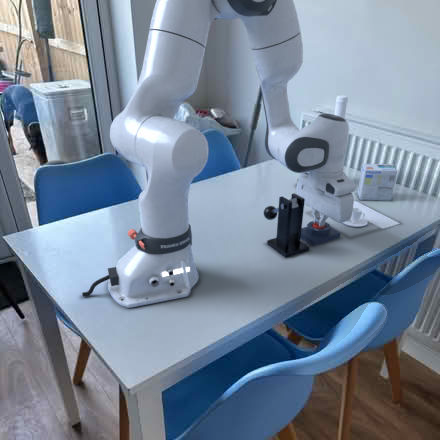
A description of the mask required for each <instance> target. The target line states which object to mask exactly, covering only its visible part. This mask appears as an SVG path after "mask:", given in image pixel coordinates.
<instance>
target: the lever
mask: <svg viewBox="0 0 440 440" xmlns="http://www.w3.org/2000/svg"><path fill="white" fill-rule="evenodd" d="M289 200H290V201H291V202H292V209H294V208H297V207H299V205H298V202H297V198H294V199H289ZM278 210H279V206H278V207H275V206H273V205H268V206H266V207H265V208H264V209H263V216H264V217H263V218H265V219H266V220H267V221H273V220H275V219H276V218H277V217H278Z"/></svg>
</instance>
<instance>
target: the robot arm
mask: <svg viewBox="0 0 440 440" xmlns="http://www.w3.org/2000/svg"><path fill="white" fill-rule="evenodd" d="M236 19H240V21H241V22H242V23H243V25H244V26H245V29H246V31H247V37H248V41H249V47H250V52H251V56H252V59H253V63H254V66H255V71H256V74H257V78H258V82H259V86H260V87H259V88H260V94H261V99H262V104H263V110H264V116H265V122H266V123H265V124H266V128H265V129H266V130H265V139H264V148H265V151H266V153H267V154H268V156H269V157H270V158H272V159H273V160H275V161H277V162H278V163H280V164H281V165H282V166H284V168H286V169H288V170H289V171H291V172H293V173H295V174H296V173H297V174H299V178H297V180H298V182H297V181H296V188H295V192H294V193H295V194H297V195H299V196H300V197H302V198H304V199H305V202H304V205H306V206H307V207H309V208H311V212H312V216H313V221H314V223H315V224H317V225H319V226H320V227H322V226H324V225H325V222H326V221H327V219H328V218H329V219H331V220H332V221H334V222H336V223H338V224H341V223H343V222H346V221H348V220H349V219H350V218H351V216H352V211H353V204H354V201H355V197H354V195H353V192H356V188H357V185H356V184H355V182H353V180H351V179H350V177H348V176H347V174H346V173H345V172H344V168H345V167H344V166H345V164H344V165H343V159H344V156H345V157H346V153H347V149H348V142H349V141H348V140H349V134H348V125H349V123H348V124H347V122H348V121H347V120H346V118H345V119H343V118H342V117H339V116H336V115H334V114H332V113H321V114H318V115H317V116H316V118H315V119H314V120H313V121H311V123H309V124H308V125H306V126H304V127H302V128H299V127H298V126H297V125H296V124H295V122H294V121H293V119H292V117H291V112H290V111H291V110H290V103H289V95H288V85H289V82H290V81H291V80H292V79H293V78H294V77H295V76H297V74H298V73H299V71H300V69H301V68H302V65H303V62H304V61H303V60H304V47H303V46H304V44H303V37H302V33H301V28H300V21H299V17H298V12H297V9H296V5H295V2H294V0H155V5H154V7H153V11H152V16H151V20H150V25H149V30H148V36H147V40H146V41H147V42H146V46H145V51H144V57H143V61H142V67H141V71H140V75H139V78H138V81H137V83H136V85H135V88H134V90H133V92H132V95H131V97H130V99H129V101H128V103H127V104H126V106H125V107H124V108H123V110H122V111H121V112H119V114H117V115H116V116H115V118H114V119H113V120H112V122H111V125H110V128H109V138H110V142H111V146H112V147H113V149H114V150H115V151H116V152H117V153H118V154H119V155H121V156H122V157H123V158H124V159H125V160H127V161H128V162H130V163H133V164H135V165H138V166H140V167H143V168H144V169H145V170H146V172H147V183H146V187H145V188H144V189H143V190H142V191H141V192H140V194H139V195H138V199H137V205H138V213H139V221H140V226H141V227H140V229H139V231H137V230H135V229H134V228H130V229H129V230H128V231H127V236H128V237H129V238H130V239H131V240H134V246H132V247H131V248H130V249H129V250H128V251H127V252H126V253H125V254H124V255H123V256H122V257H121V258H120V259H119V260H117V262H116V266H114V267H108V268H107V273H108V274H107V275H105V276H103V277H101V278H99V279H97V280H96V281H94V282H92V284H91V285H90V287H89V289H88V290H87V291H84V292H81V294H82V297H89V296H90V295H92V294H93V293H94V291H95V288H96V287H97V286H98V285H100V284H102V283H104V282H106V281H108V282H107V288H108V292H109V294H110V296H111V297H112V299H113V300H114V301H115V302H116V303H117V304H118V305H120V306H122V307H124V308H128V309H131V308H136V307H140V306H146V305H151V304H156V303H161V302H167V301H171V300H178V299H181V298H186V297H187V298H188V296H190V294H191V291H192V288H193V287H194V286H195V285H196V284H197V283H198V281H199V278H200V275H199V272H198V270H197V267H196V264H195V260H194V256H193V255H194V254H193V250H192V246H193V234H192V227H191V224H190V221H189V220H190V219H189V193H190V188H191V186H192V183H193V180H194V179H195V178H196V177H197V176H199V174H201V172H202V171H203V170H204V169H205V168H206V165H207V163H208V159H209V151H210V148H209V143H208V139H207V138H206V136H205V135H204V133H203V132H202V131H200V130H199V129H198V128H196V127H195V126H193V125H191V124H189V123H188V122H186V121H183V120H180V119H177V118H175V116H176V114H177V112H178V110H179V109H180V107H181V105H182V104H183V103H184V102H185V100H187V99H189V98H190V97H192V96H193V95H194V94H195V93H196V90H197V87H198V83H199V80H200V74H201V70H202V65H203V61H204V57H205V51H206V47H207V42H208V37H209V32H210V28H211V26H212V24H213V22H214V20H229V21H230V20H236ZM344 160H345V159H344Z"/></svg>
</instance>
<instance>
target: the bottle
mask: <svg viewBox="0 0 440 440" xmlns="http://www.w3.org/2000/svg"><path fill="white" fill-rule="evenodd" d="M348 98H349V97H348V96H347V95H343V94H341V95H340V94H339V95H337V96H336V99H335V107H334V114H333V115H336V116H339V117H342V118H343V119H345V120H346V111H347V105H348ZM347 124H348V135H349V134H350V133H349V132H350V125H349V122H348V121H347ZM345 159H346V155H345V156H344V159H343V165H344V166H345Z"/></svg>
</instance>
